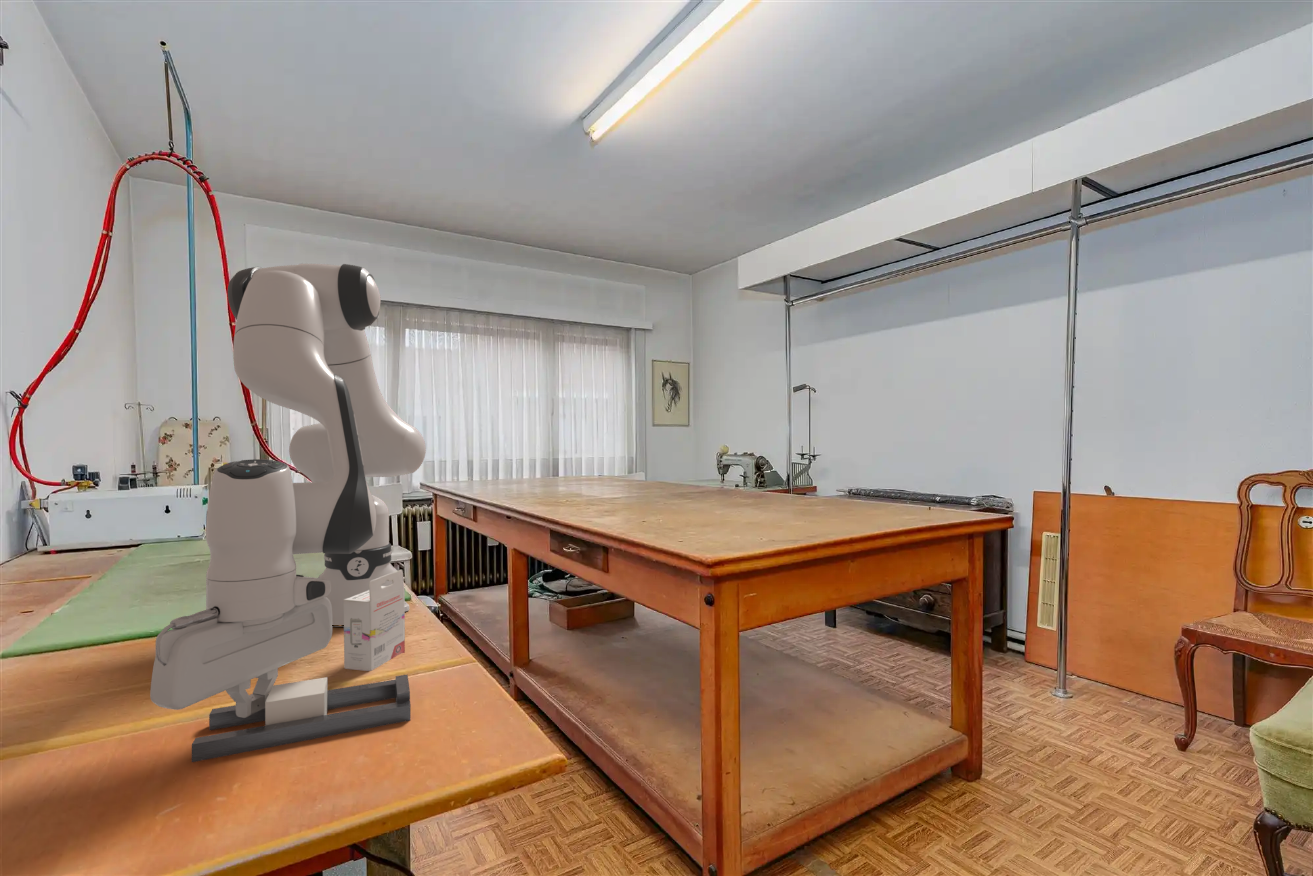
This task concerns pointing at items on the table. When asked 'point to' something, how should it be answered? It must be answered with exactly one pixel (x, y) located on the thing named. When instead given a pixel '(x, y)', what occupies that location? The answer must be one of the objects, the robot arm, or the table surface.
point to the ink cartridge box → (375, 624)
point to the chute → (307, 720)
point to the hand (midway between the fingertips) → (252, 712)
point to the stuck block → (296, 701)
